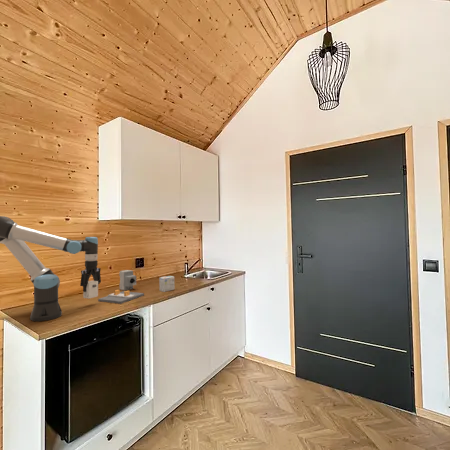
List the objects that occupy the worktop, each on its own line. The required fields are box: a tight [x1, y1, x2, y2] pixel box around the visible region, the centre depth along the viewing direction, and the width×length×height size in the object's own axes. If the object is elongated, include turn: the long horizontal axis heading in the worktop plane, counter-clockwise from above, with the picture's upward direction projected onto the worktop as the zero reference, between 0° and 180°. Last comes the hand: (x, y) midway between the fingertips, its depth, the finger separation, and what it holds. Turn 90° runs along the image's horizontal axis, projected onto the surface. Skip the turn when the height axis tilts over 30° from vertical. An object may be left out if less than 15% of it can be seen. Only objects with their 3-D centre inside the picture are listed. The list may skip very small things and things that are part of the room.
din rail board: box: [97, 289, 145, 305], centre depth 197 cm, size 24×20×5 cm
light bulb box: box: [158, 275, 176, 293], centre depth 221 cm, size 11×7×11 cm, turn 141°
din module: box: [82, 280, 99, 299], centre depth 180 cm, size 7×6×10 cm
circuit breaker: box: [118, 269, 137, 291], centre depth 225 cm, size 8×14×15 cm, turn 53°
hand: (90, 295), depth 180 cm, fingers closed on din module, 7 cm apart
